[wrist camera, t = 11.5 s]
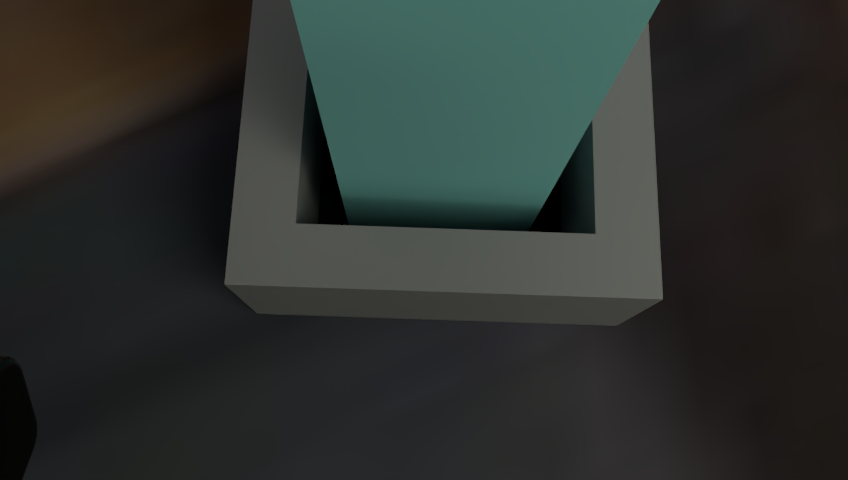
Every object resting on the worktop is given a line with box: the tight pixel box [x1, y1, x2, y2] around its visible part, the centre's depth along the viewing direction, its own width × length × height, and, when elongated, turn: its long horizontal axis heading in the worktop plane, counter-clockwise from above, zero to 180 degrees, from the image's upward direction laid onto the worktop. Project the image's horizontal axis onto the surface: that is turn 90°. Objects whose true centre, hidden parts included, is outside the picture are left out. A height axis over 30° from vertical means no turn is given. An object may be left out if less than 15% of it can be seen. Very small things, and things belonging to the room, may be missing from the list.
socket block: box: [224, 0, 663, 326], centre depth 21 cm, size 10×10×4 cm
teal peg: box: [290, 0, 660, 232], centre depth 16 cm, size 5×5×13 cm
